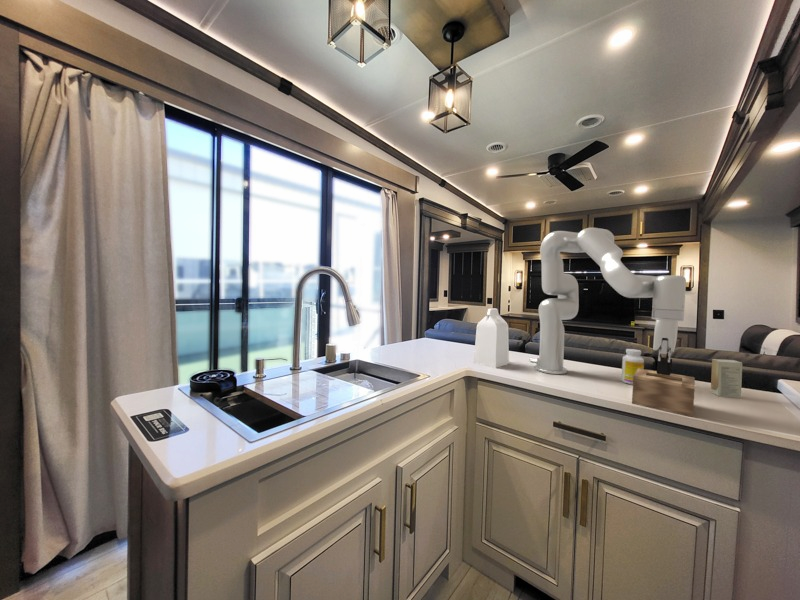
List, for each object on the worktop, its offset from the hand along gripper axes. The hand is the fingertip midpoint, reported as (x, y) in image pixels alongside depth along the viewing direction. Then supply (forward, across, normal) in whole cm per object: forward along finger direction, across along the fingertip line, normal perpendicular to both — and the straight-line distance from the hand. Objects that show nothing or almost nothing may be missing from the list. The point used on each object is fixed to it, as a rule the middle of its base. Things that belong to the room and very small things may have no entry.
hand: (664, 371), depth 96 cm
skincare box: (+11, -27, +15) cm, 33 cm away
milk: (+11, -7, -62) cm, 63 cm away
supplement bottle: (+11, -20, -10) cm, 25 cm away
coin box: (+10, 0, 0) cm, 10 cm away
